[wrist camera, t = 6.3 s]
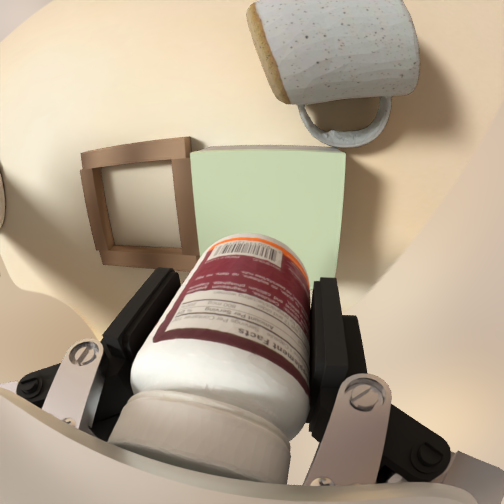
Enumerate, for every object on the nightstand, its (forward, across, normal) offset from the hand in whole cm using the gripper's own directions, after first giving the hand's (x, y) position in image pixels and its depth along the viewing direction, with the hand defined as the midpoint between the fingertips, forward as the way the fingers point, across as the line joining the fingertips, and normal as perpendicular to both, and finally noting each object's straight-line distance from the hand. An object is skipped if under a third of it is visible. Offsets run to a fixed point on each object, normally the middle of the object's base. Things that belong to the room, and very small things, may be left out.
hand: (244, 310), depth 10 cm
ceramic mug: (+13, -4, -10) cm, 17 cm away
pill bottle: (+2, 0, 0) cm, 2 cm away
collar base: (+12, +11, 0) cm, 17 cm away
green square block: (+12, 0, 0) cm, 12 cm away
